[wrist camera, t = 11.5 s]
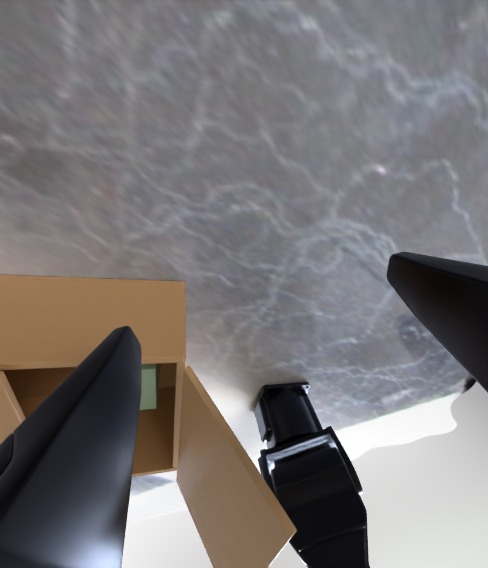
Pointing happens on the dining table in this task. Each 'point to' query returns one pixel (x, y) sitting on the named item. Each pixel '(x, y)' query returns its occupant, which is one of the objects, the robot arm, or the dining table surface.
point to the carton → (92, 348)
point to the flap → (225, 487)
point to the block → (150, 386)
